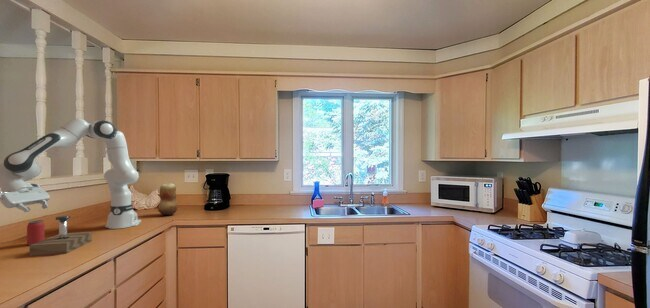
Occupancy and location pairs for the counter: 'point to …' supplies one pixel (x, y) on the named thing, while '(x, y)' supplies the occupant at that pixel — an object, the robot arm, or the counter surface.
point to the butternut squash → (168, 199)
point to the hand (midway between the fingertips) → (37, 209)
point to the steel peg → (62, 226)
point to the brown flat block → (60, 244)
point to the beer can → (35, 232)
